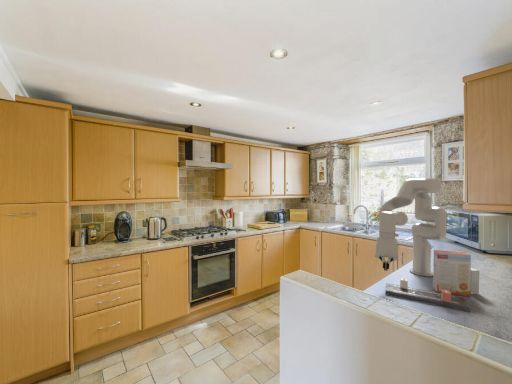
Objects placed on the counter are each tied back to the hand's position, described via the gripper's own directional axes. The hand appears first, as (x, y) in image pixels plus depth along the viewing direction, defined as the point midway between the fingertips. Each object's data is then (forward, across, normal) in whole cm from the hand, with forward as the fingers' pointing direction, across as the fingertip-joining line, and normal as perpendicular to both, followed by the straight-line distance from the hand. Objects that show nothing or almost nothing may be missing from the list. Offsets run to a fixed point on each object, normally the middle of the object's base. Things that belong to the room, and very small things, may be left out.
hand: (385, 269), depth 126 cm
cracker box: (+10, -29, -13) cm, 33 cm away
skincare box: (+9, -38, -20) cm, 44 cm away
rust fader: (+7, -24, +6) cm, 26 cm away
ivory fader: (+7, -8, -1) cm, 11 cm away
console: (+10, -16, +3) cm, 19 cm away
